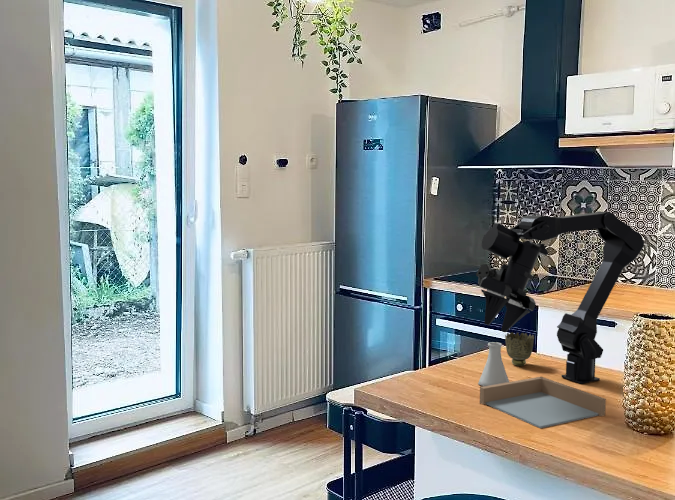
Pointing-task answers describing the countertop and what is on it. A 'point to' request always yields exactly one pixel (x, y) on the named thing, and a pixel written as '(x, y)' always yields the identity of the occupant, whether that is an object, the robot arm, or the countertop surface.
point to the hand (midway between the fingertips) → (495, 328)
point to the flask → (493, 367)
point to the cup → (519, 347)
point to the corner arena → (542, 401)
